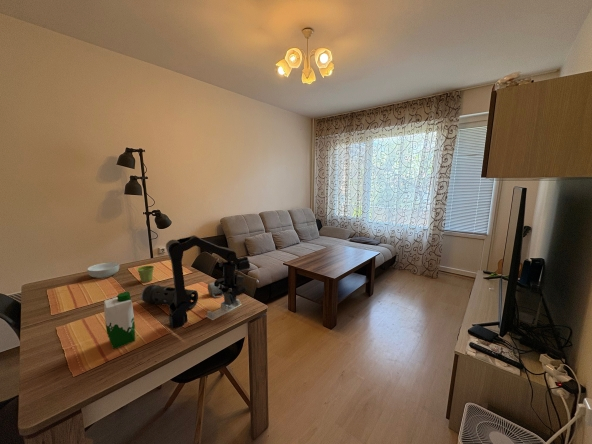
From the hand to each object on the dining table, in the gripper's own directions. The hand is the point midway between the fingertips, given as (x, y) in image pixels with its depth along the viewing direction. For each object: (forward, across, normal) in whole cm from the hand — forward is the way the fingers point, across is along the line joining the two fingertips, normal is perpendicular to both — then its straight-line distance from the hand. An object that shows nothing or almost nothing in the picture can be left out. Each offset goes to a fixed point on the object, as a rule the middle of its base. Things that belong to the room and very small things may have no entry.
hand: (230, 301), depth 120 cm
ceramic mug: (+4, +18, -5) cm, 19 cm away
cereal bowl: (+4, +100, +26) cm, 103 cm away
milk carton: (+4, +15, +43) cm, 46 cm away
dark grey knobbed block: (+1, 0, 0) cm, 1 cm away
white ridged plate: (+4, 0, +4) cm, 5 cm away
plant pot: (+4, +70, +12) cm, 71 cm away
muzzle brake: (+4, +27, +18) cm, 33 cm away
